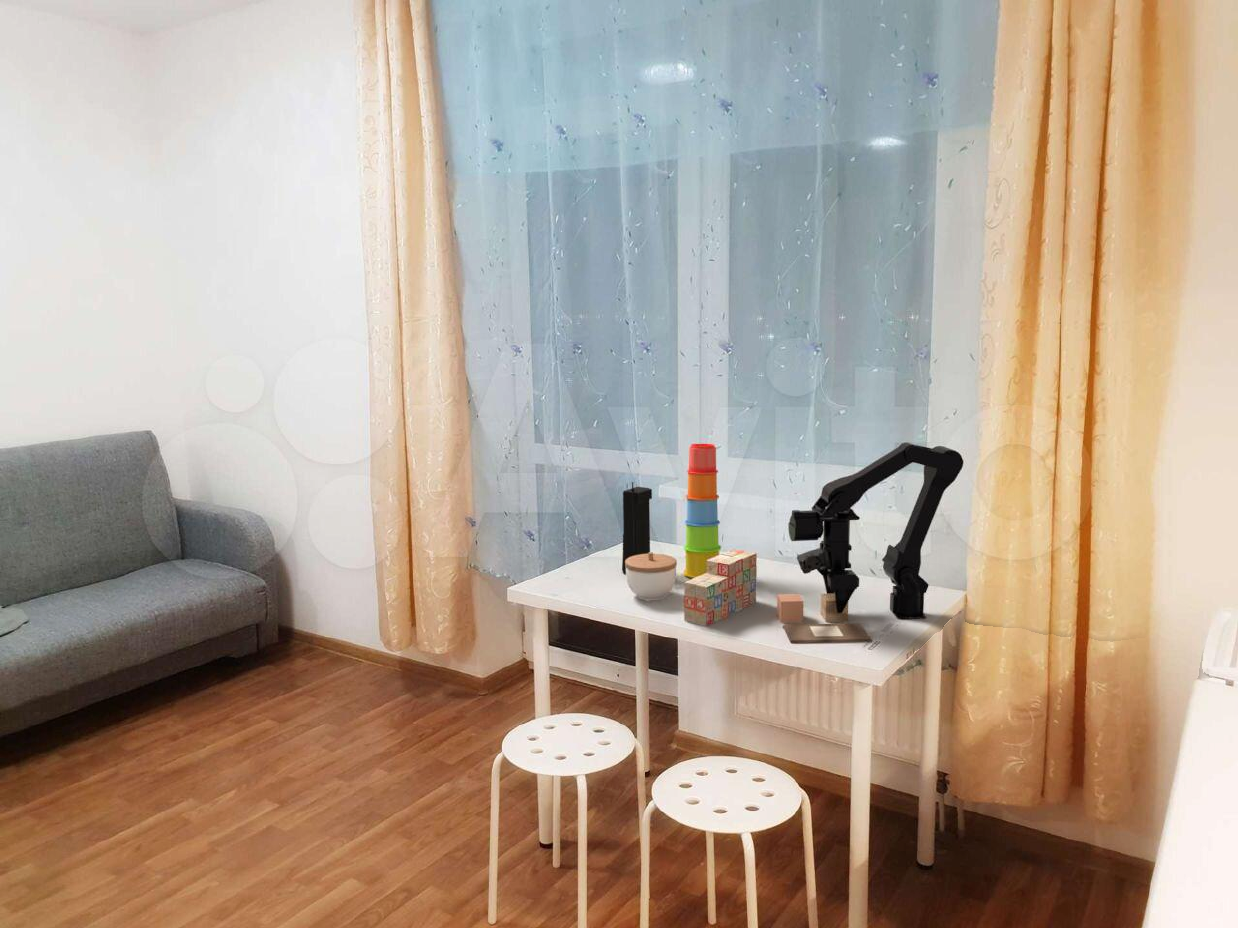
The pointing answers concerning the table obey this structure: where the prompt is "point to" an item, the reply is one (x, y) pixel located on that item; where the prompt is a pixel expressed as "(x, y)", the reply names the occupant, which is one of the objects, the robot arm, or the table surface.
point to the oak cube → (832, 609)
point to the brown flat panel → (826, 633)
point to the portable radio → (636, 522)
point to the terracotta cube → (789, 608)
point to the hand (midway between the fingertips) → (834, 605)
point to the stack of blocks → (721, 588)
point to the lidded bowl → (651, 575)
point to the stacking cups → (701, 510)
